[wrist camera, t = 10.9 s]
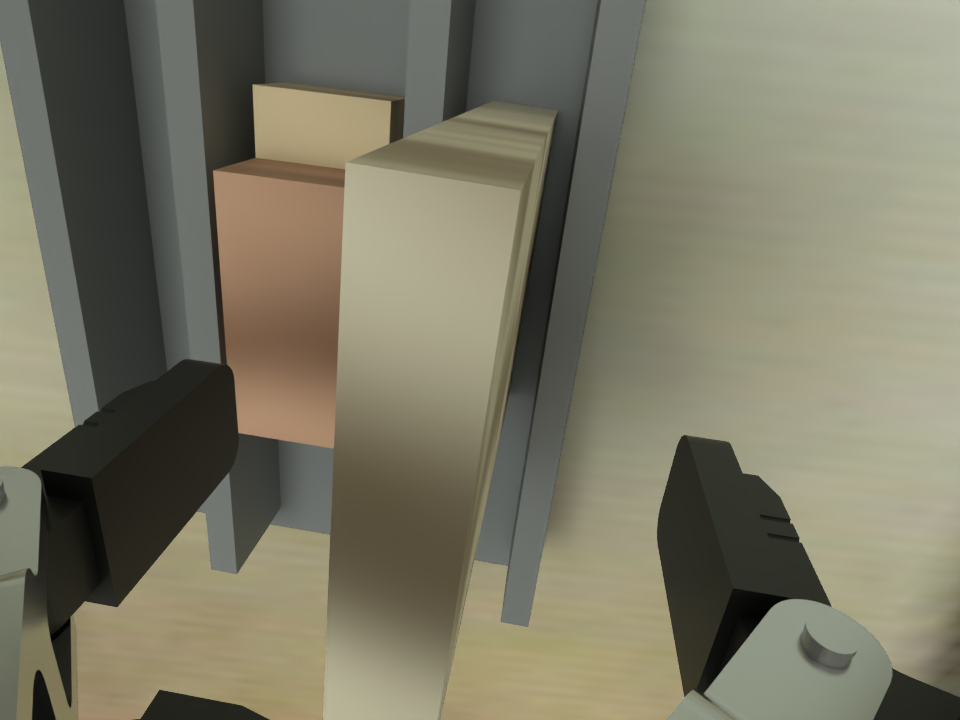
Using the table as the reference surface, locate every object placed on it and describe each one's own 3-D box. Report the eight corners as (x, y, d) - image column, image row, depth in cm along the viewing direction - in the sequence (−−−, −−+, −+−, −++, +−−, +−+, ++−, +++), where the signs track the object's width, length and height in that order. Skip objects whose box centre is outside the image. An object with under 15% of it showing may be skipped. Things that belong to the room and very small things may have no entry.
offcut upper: (255, 157, 19) (212, 170, 17) (387, 175, 19) (362, 190, 16) (266, 395, 22) (231, 431, 20) (378, 412, 22) (355, 452, 20)
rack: (95, -241, 19) (-76, -350, 14) (664, -193, 18) (700, -294, 13) (180, 485, 30) (102, 569, 25) (532, 545, 29) (524, 646, 24)
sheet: (493, 100, 20) (345, 162, 7) (558, 110, 20) (520, 191, 7) (456, 385, 24) (322, 735, 12) (509, 395, 24) (431, 760, 11)
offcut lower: (288, 82, 20) (252, 84, 18) (411, 97, 20) (390, 101, 18) (293, 316, 24) (263, 342, 22) (398, 332, 24) (380, 360, 21)
